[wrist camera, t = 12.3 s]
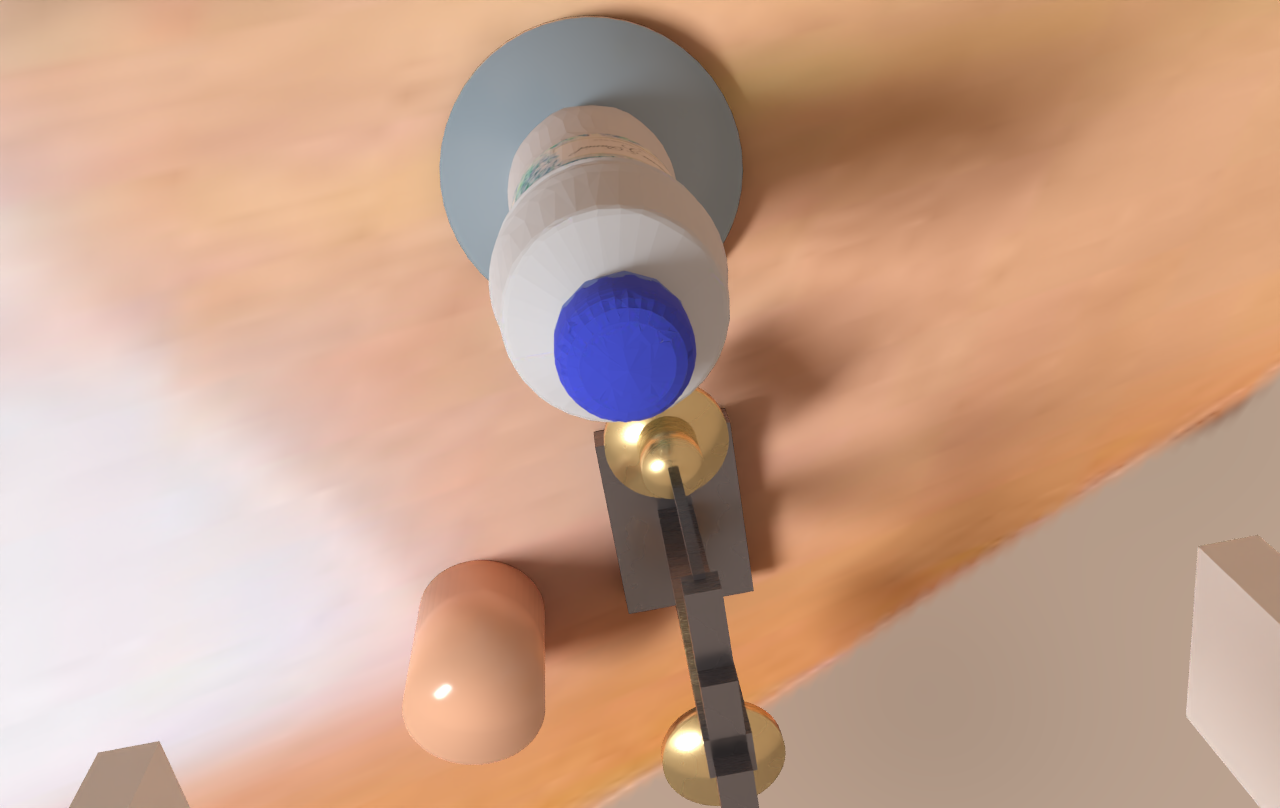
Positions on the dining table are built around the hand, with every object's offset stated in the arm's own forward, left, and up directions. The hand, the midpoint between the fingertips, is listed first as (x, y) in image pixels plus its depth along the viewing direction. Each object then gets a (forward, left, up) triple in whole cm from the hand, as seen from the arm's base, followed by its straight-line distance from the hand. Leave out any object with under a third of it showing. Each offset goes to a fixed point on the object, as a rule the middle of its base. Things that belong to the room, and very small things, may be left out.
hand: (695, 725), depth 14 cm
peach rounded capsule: (+20, -9, -33) cm, 39 cm away
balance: (+16, +1, -33) cm, 36 cm away
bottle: (0, 0, -32) cm, 32 cm away
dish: (0, 0, -33) cm, 33 cm away
